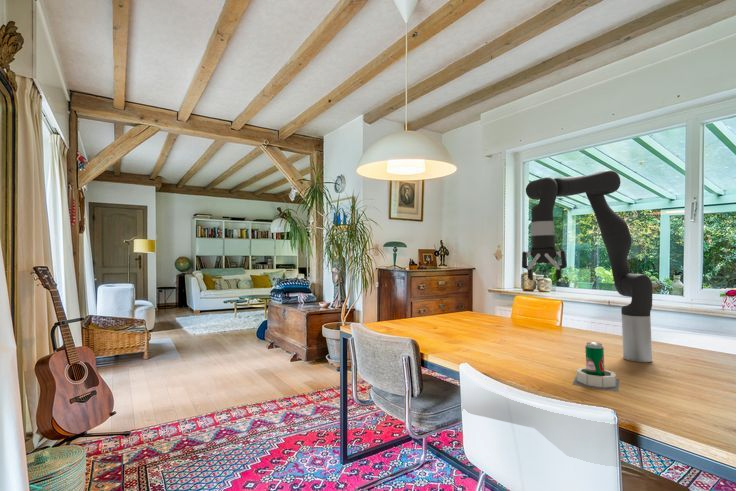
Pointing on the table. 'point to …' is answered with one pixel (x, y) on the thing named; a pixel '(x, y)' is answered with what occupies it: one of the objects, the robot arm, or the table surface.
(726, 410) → the table surface
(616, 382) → the mat
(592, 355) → the soda can
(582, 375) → the grey faceted ashtray
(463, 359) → the table surface
